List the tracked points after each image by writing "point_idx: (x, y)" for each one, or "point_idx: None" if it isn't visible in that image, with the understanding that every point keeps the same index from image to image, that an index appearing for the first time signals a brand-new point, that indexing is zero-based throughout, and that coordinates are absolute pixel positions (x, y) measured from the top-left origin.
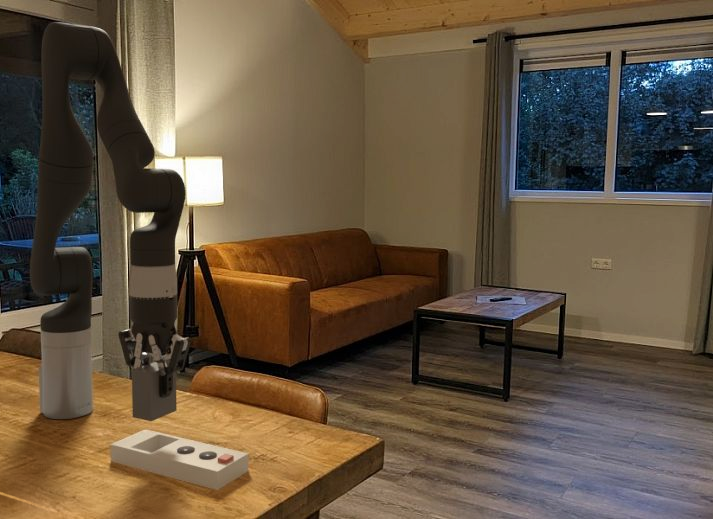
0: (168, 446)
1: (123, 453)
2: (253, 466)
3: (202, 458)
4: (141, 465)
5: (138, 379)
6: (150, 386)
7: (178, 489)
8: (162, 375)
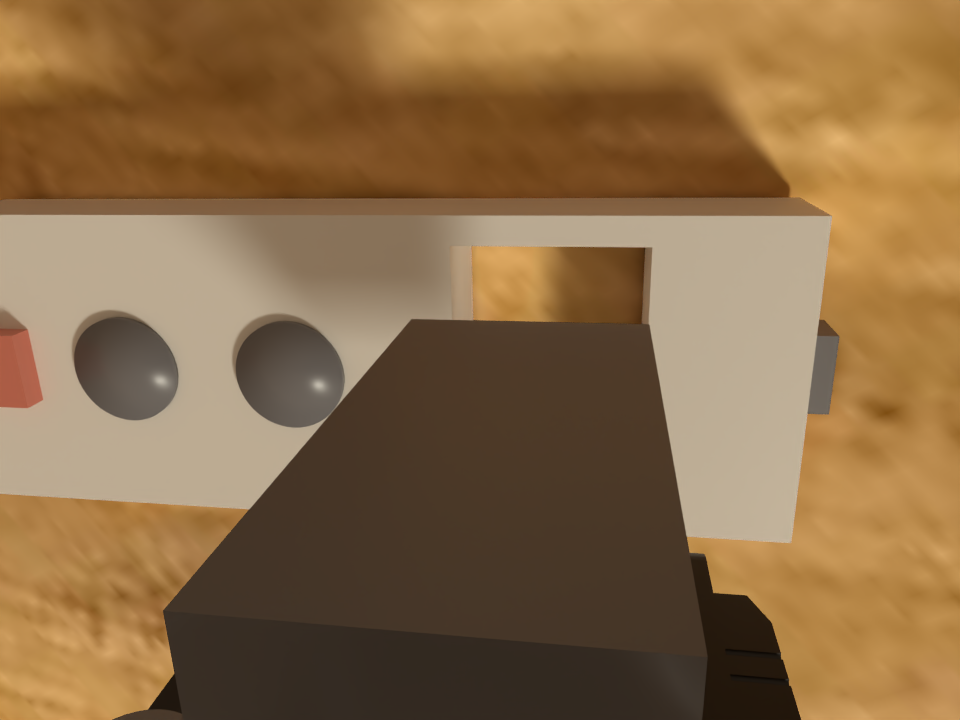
0: None
1: (689, 209)
2: (97, 511)
3: (114, 317)
4: (525, 201)
5: (522, 530)
6: (286, 476)
7: (182, 116)
8: (150, 715)
